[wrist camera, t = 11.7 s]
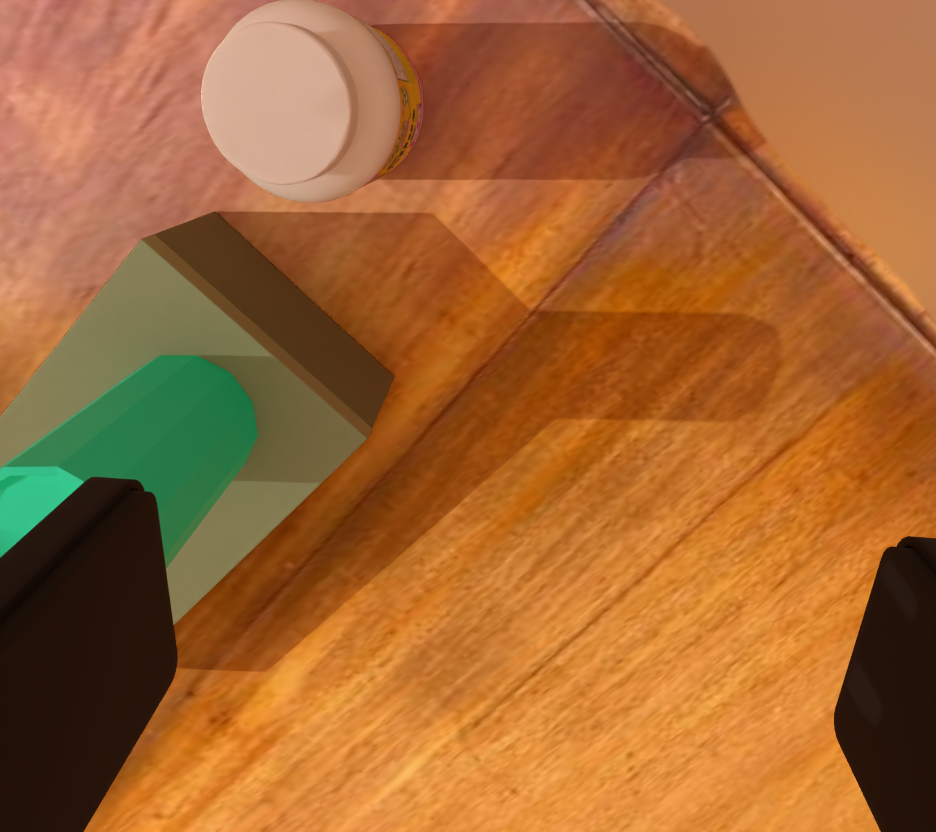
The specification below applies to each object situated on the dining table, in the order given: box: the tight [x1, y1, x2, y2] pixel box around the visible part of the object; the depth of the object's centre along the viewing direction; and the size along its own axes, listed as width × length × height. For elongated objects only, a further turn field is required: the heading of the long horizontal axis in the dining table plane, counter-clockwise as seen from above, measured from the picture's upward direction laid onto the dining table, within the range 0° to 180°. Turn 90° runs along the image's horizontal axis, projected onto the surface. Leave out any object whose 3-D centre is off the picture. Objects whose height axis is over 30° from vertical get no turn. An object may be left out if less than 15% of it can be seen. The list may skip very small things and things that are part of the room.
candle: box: [0, 355, 258, 568], centre depth 28 cm, size 6×6×12 cm
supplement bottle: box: [201, 0, 423, 203], centre depth 29 cm, size 7×7×13 cm
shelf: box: [0, 212, 394, 625], centre depth 40 cm, size 28×12×8 cm, turn 135°
